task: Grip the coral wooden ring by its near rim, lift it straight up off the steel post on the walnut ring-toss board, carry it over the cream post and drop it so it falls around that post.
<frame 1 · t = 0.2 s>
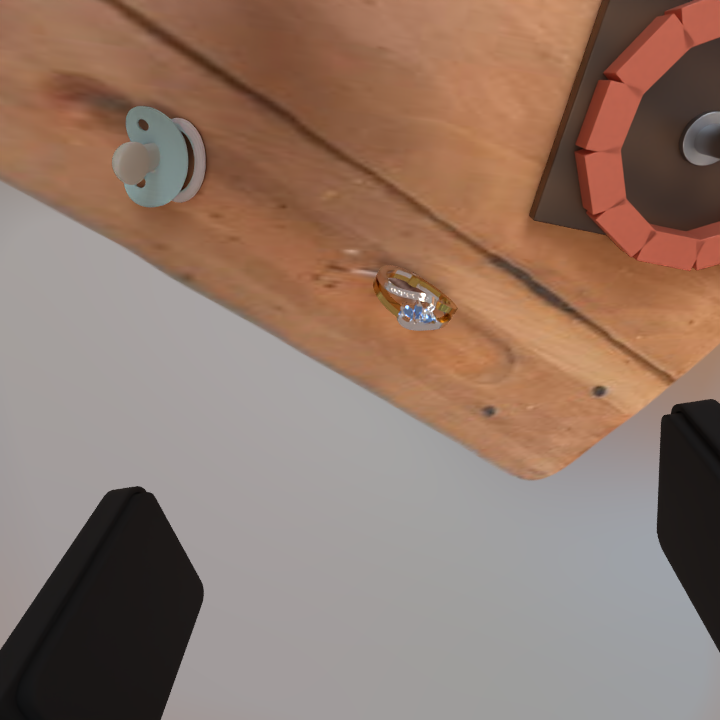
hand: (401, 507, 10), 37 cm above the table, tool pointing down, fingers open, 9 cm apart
ring 2: (413, 277, 46), on the table
steel post: (695, 136, 39), resting on board
pacifier: (171, 157, 42), on the table
ring: (705, 138, 38), point 1 cm above the table, touching board
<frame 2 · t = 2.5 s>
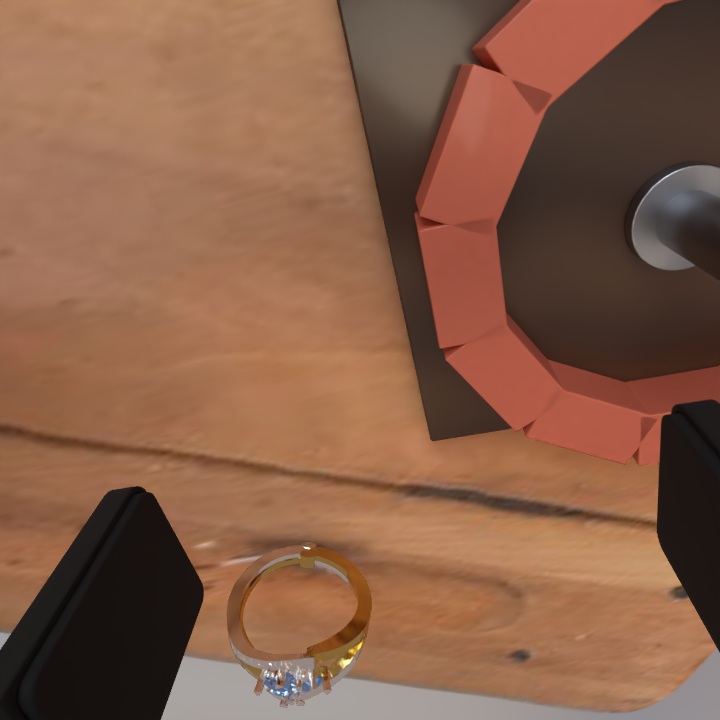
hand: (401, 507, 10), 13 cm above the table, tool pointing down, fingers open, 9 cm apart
ring 2: (309, 544, 29), on the table
steel post: (658, 206, 20), resting on board
ring: (678, 216, 18), point 1 cm above the table, touching board
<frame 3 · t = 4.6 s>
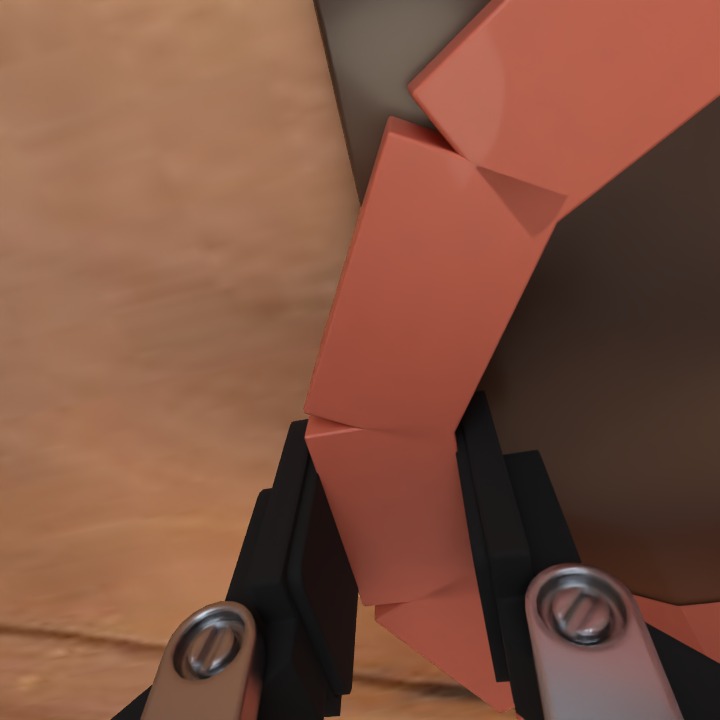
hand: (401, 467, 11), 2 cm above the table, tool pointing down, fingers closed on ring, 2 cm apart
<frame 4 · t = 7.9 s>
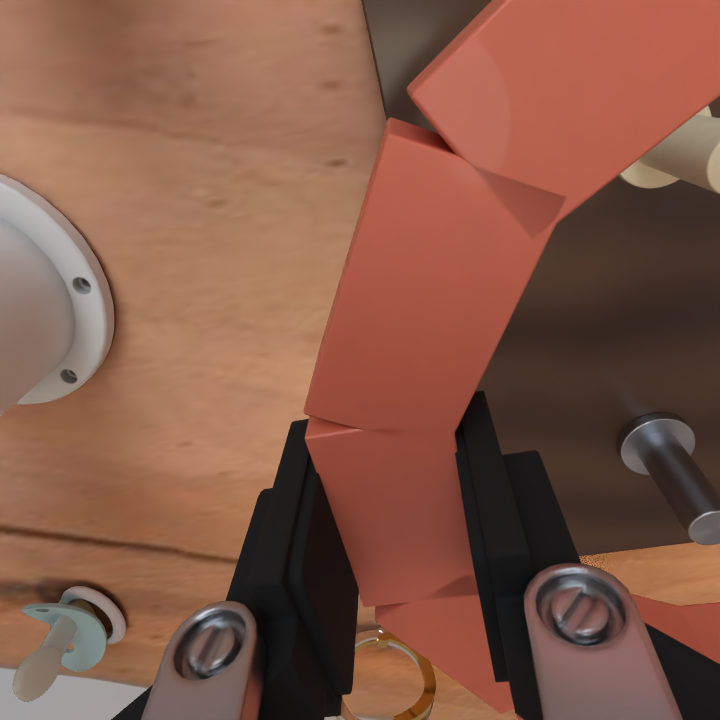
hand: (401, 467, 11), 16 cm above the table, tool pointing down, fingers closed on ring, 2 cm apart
cream post: (639, 133, 22), resting on board
ring 2: (383, 627, 39), on the table
steel post: (641, 423, 29), resting on board
board: (629, 300, 25), on the table
pacifier: (88, 608, 40), on the table
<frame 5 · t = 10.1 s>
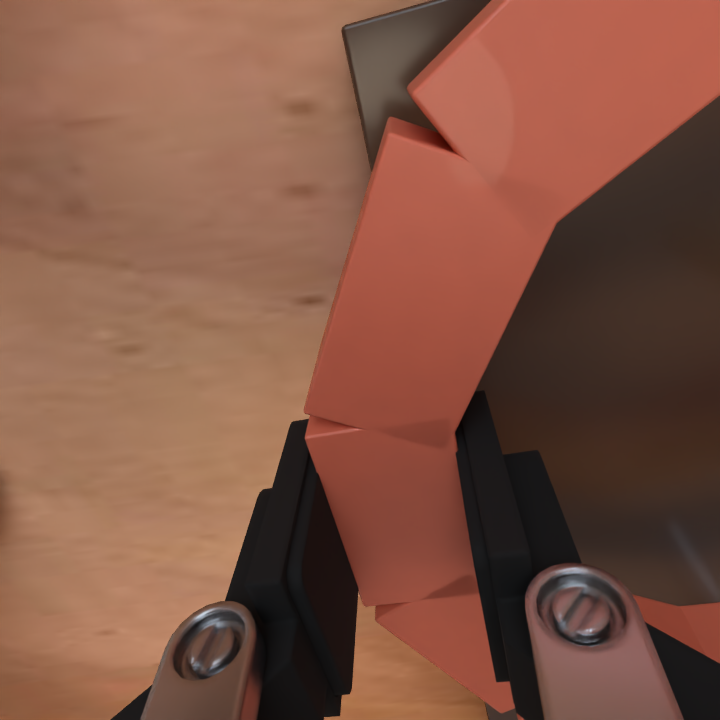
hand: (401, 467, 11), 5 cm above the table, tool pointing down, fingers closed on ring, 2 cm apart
when the fingers open (2 cm above the table, at t = 11.4 s): ring stays where it is, resting on board.
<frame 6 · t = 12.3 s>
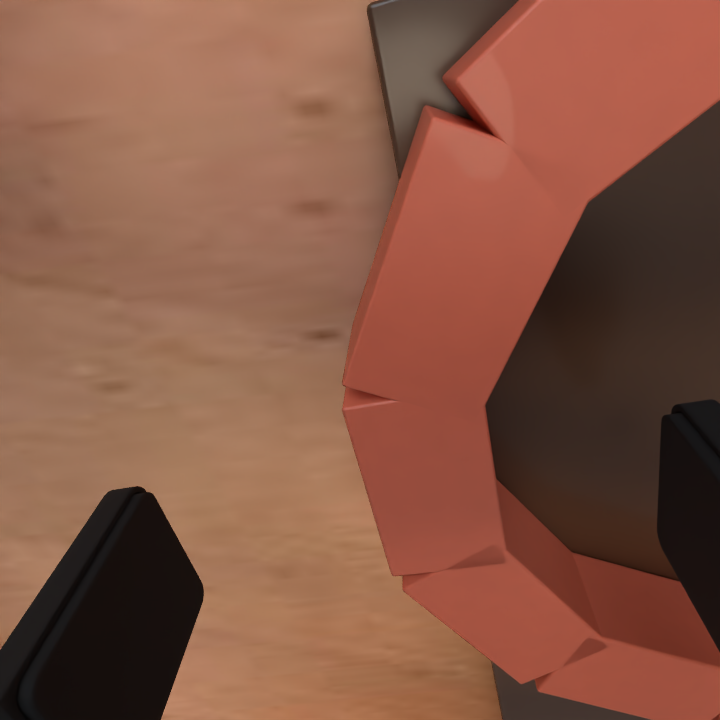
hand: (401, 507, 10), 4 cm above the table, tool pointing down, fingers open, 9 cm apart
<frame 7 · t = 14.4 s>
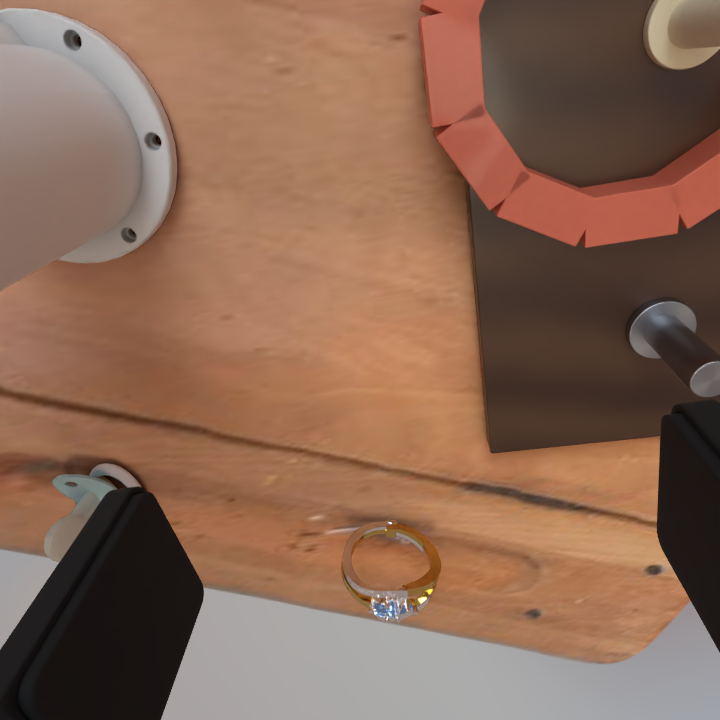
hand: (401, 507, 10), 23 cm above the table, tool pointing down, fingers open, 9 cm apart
cream post: (670, 25, 25), resting on board
ring 2: (391, 521, 41), on the table
steel post: (647, 315, 32), resting on board
board: (647, 190, 28), on the table
pacifier: (112, 490, 42), on the table
ring: (621, 33, 24), point 1 cm above the table, touching board
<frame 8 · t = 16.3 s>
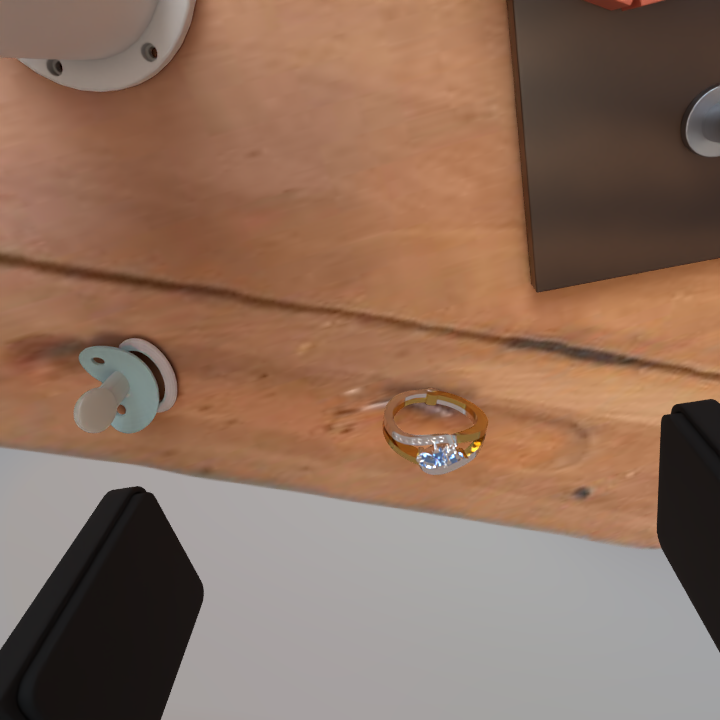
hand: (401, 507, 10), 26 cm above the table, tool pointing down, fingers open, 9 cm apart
ring 2: (430, 391, 40), on the table
steel post: (701, 118, 30), resting on board
pacifier: (140, 373, 40), on the table
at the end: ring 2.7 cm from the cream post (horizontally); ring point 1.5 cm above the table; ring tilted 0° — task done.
